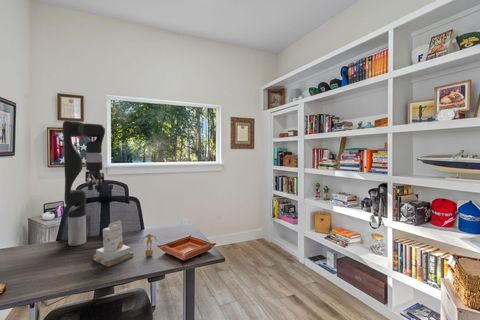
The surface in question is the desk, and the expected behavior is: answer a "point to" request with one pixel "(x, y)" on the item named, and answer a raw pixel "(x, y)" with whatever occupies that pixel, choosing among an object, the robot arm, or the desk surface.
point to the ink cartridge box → (112, 236)
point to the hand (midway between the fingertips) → (94, 191)
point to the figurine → (150, 251)
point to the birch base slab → (114, 261)
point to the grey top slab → (113, 252)
